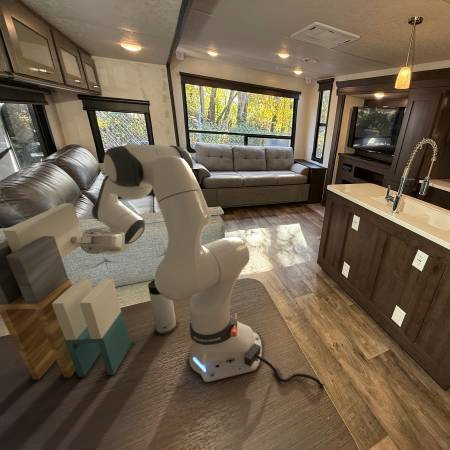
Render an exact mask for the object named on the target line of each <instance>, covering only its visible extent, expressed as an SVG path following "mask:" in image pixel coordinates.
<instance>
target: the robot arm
mask: <svg viewBox="0 0 450 450" xmlns="http://www.w3.org/2000/svg"><path fill="white" fill-rule="evenodd" d="M103 167H104V171H105V173H106V176H104V178H103V180H102V182H101V185H100V189H99V192H98V195H97V199H96V201H95V203H94V204H93V205H92V209H91V215H92V218H94V219H95V220H97V221H99V222H100V223H101V224H103V225H105V226H106V227H107V228H109V229H104V228H97V227H96V228H95V227H94V228H90V229H87V230H86V231H84V232H82V235H83V237H72V238H71V239H72V240H71V242H73V243H83V244H82V245H80V246H79V247H80V248H81V250H82V251H83V252H84V253H86V254H89V255H105V254H107V255H114V254H115V255H116V254H121V253H123V252H126V251H127V250H128V249H129V248H130V247H131V246H132V244H133V243H134V242H136V241H137V240H138V239H139V238H141V236H142V235H143V234H144V232H145V230H146V229H145V228H146V221H145V219H144V218H142V217H141V216H139V215H138V214H137V213H136V212H134V211H132V210H131V209H130V208H129V207H127V206H126V205H125V204H123V202H121V201H120V200H119V197H120V198H121V199H125V200H134V201H135V200H140V199H144V198H145V197H147V196H148V195H150V193H151V192H152V190H153V194H154V196H155V199H156V202H157V205H158V207H159V210H160V213H161V215H162V218H163V222H164V224H165V228H166V231H167V246H166V250H165V254H164V256H163V258H162V260H161V261H160V263H159V264H158V265H157V267H156V268H155V269H156V270H155V273H154V279H155V285H156V288H157V290H158V291H159V293H160V294H161V295H162V296H164V297H165V298H167V299H169V300H172V301H173V302H175V301H179V300H183V299H186V298H189V297H190V300H189V303H188V307H189V317H190V323H189V335H190V339H191V350H190V353H189V357H188V361H189V365H190V367H191V369H192V370H193V371H195V372H196V373H198V374H199V375H200V377H201V378H202V380H203V381H204V382H205V383H210V382H215V381H218V380H222V379H226V378H230V377H235V376H239V375H242V374H247V373H250V372H254V371H256V370H257V369H258V368H259V366H260V363H261V362H263V364H266V366H268V367H269V368H270V369H271V370H272V371H273V372H274V373H275V376H276V377H277V379H278V380H279V381H280V382H282V383H289V382H290V381H292V379H294V378H297V377H299V378H300V377H301V378H307V379H310V380H312V381H314V382H315V383H317V384H318V385H319V386H320V387H321V388H324V387H325V385H324V383H323V382H322V381H321V380H320V379H318V378H316V377H315V376H313V375H310V374H307V373H299V372H298V373H293V374H292V375H290V376H289V377H287V378H283V377H281V375H280V373H279V371H278V370H277V369H276V367H275V366H274V365H273V364H272V363H271V362H269V360H267V359H265V358H263V357H262V355H263V347H262V346H263V345H262V340H261V338H260V335H259V334H258V333H257V332H254V331H253V329H252V328H251V326H249V325H246V324H245V323H242V322H240V321H238V317H237V316H238V315H237V312H236V313H235V314H234V316H233V315H232V314H231V299H232V294H233V291H234V288H235V285H236V283H237V281H238V279H239V277H240V275H241V272H242V271H243V270H244V269H245V268H246V266H248V263H249V261H250V250H249V246H248V245H247V244H246V242H245V241H244V240H243V239H242V238H240V237H238V236H231V237H224V238H219V239H216V240H214V241H211V242H208V243H205V244H203V243H202V233H203V232H204V231H205V230H206V228H207V227H208V226H209V224H210V223H211V219H212V215H211V212H210V210H209V209H210V208H209V206H208V204H207V201H206V199H205V197H204V194H203V191H202V188H201V187H200V184H199V182H198V181H197V180H198V179H197V178H196V176H195V174H194V172H193V171H194V162H193V158H192V156H191V154H190V152H189V151H188V150H187V149H186V148H184V147H182V146H177V145H159V144H158V145H157V144H137V143H127V144H125V145H118V146H113V147H110V148H108V149H107V150H106V151H105V153H104V154H103ZM202 244H203V245H202ZM320 382H321V383H322V384H321V383H320ZM322 385H323V386H324V387H323V386H322Z"/></svg>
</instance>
